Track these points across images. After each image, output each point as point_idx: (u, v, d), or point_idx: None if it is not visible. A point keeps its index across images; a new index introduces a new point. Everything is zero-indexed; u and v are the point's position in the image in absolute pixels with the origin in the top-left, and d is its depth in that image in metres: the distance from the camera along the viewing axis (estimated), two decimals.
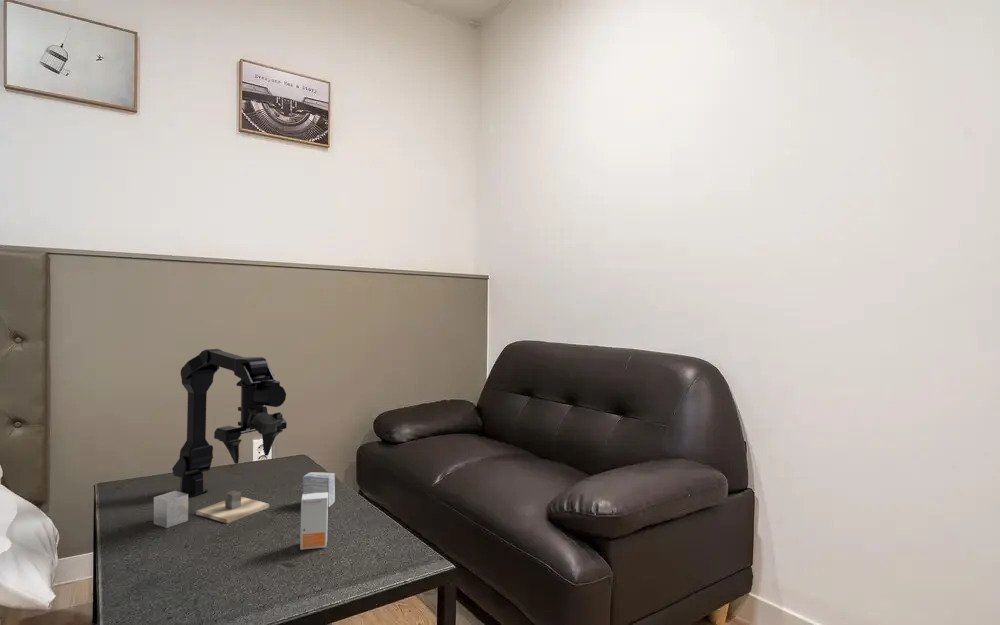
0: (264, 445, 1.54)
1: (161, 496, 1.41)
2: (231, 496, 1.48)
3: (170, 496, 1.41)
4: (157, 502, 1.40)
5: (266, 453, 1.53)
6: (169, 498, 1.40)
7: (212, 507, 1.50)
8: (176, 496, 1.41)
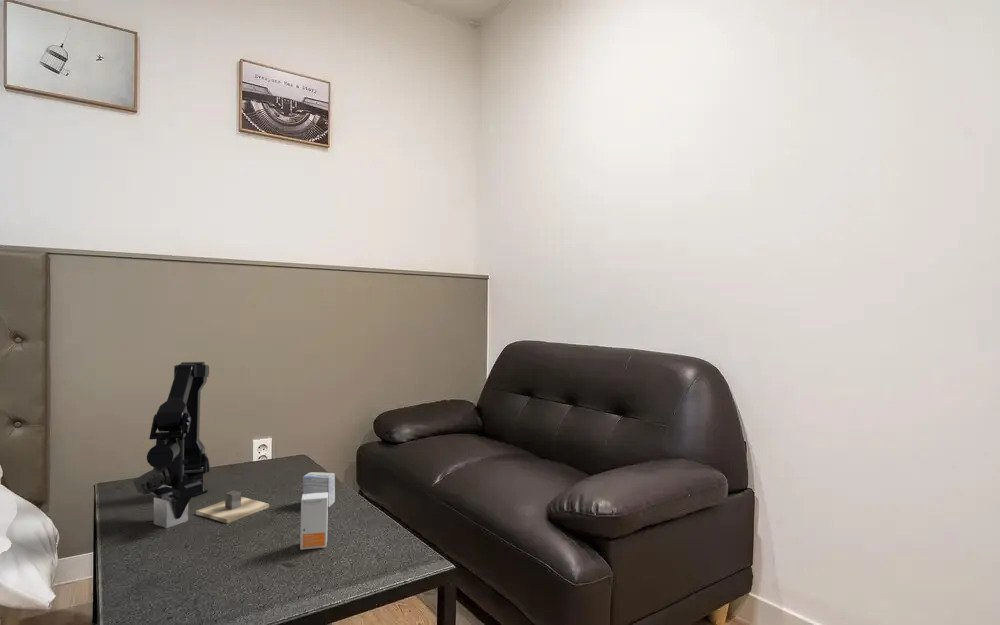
0: None
1: (161, 496, 1.41)
2: (231, 496, 1.48)
3: None
4: (157, 502, 1.40)
5: None
6: (169, 498, 1.40)
7: (212, 507, 1.50)
8: None
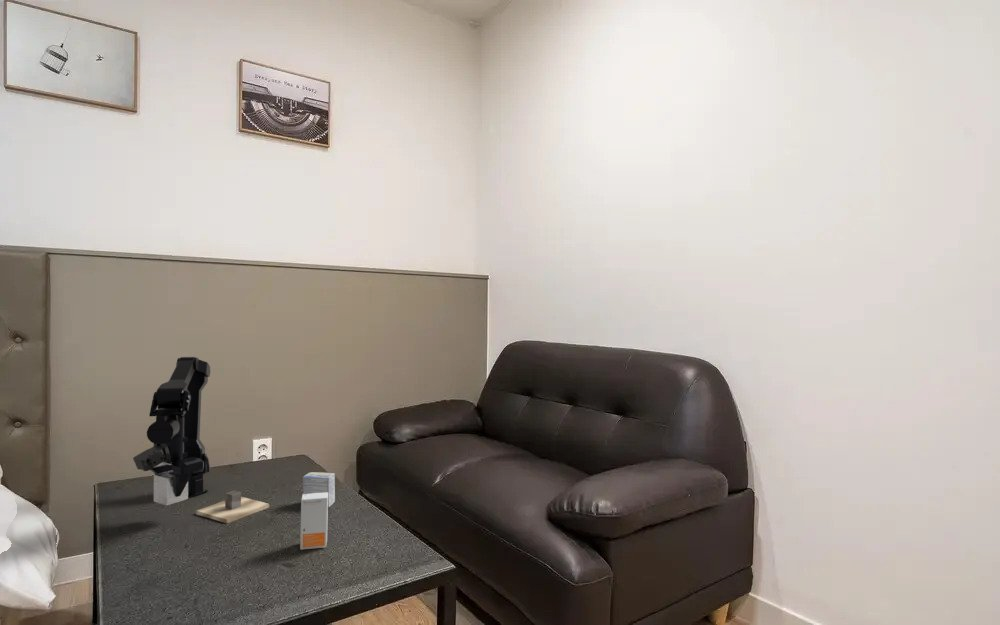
0: None
1: (161, 474, 1.41)
2: (231, 496, 1.48)
3: None
4: (157, 480, 1.40)
5: None
6: (169, 476, 1.39)
7: (212, 507, 1.50)
8: None
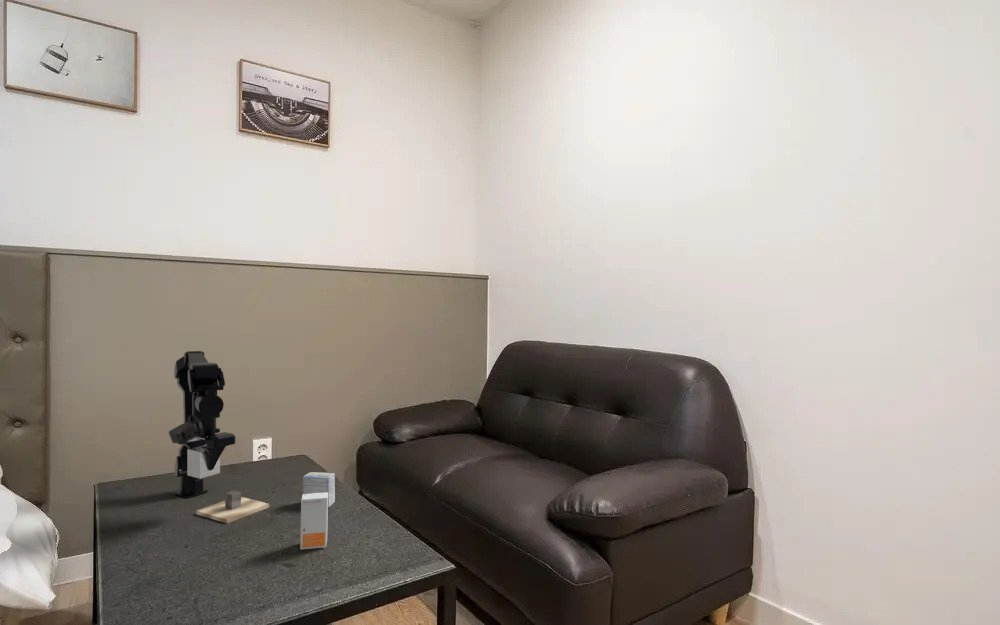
0: None
1: (194, 448, 1.45)
2: (231, 496, 1.48)
3: None
4: (191, 454, 1.44)
5: None
6: (202, 450, 1.44)
7: (212, 507, 1.50)
8: None
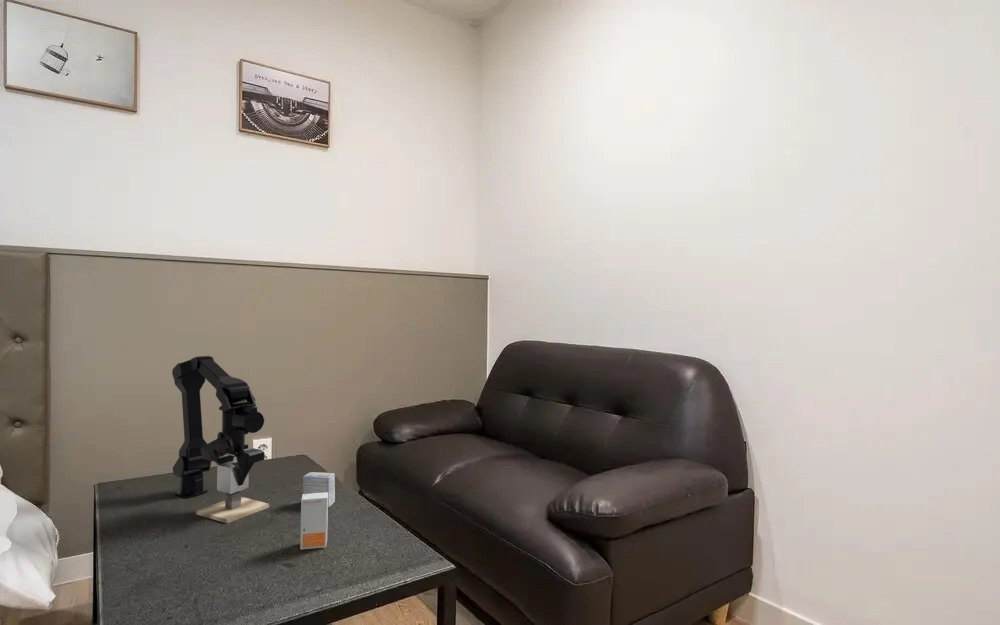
0: None
1: (224, 464, 1.49)
2: (231, 496, 1.48)
3: None
4: (221, 470, 1.48)
5: None
6: (232, 466, 1.48)
7: (212, 507, 1.50)
8: None
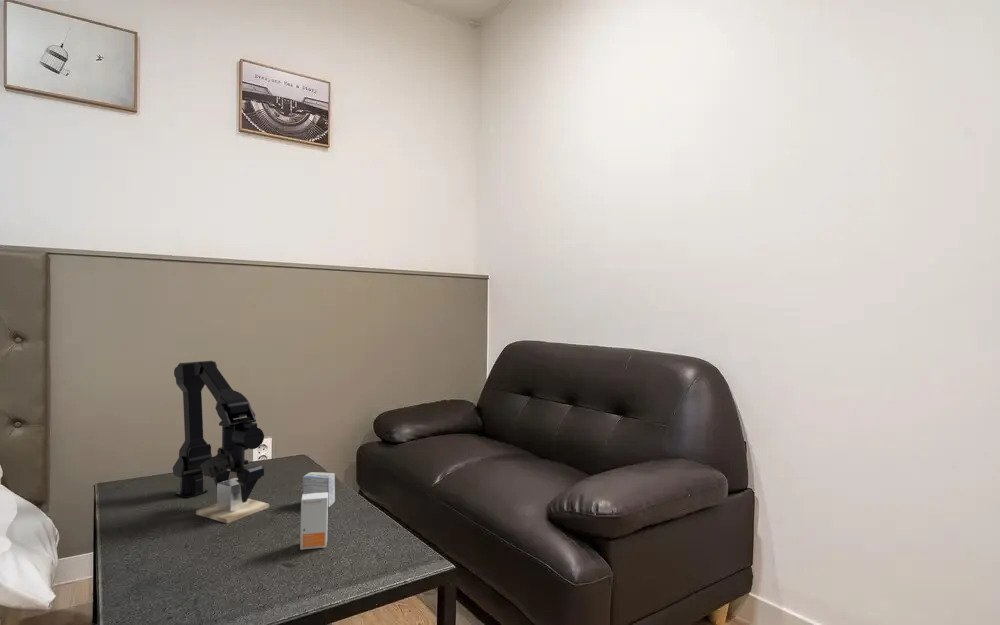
0: None
1: (224, 482, 1.49)
2: None
3: (233, 482, 1.49)
4: (221, 488, 1.48)
5: None
6: (232, 484, 1.48)
7: (212, 507, 1.50)
8: None
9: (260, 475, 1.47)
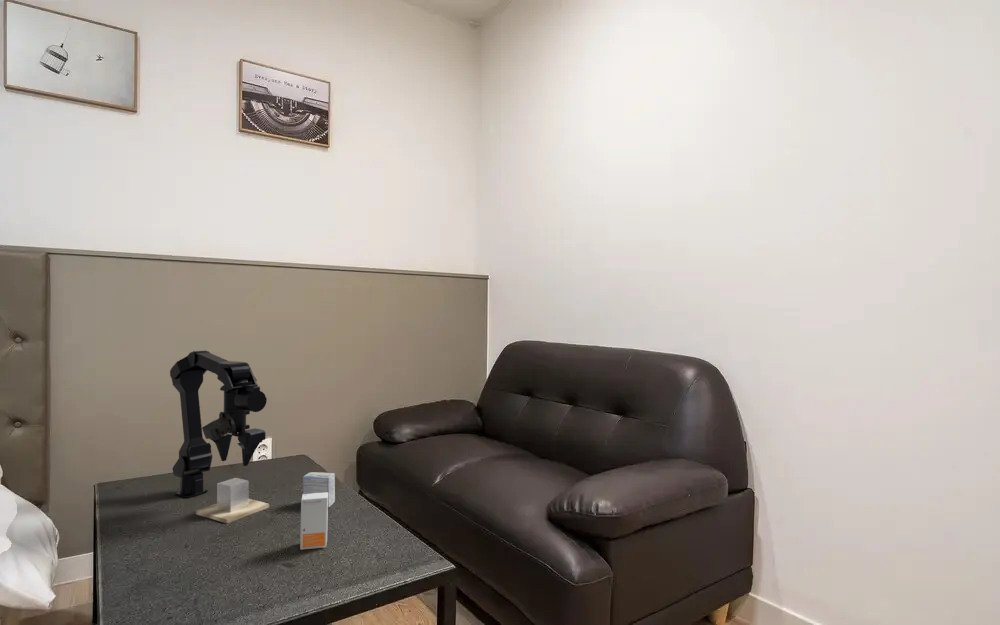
0: None
1: (224, 482, 1.49)
2: None
3: (233, 482, 1.49)
4: (221, 488, 1.48)
5: None
6: (232, 484, 1.48)
7: (212, 507, 1.50)
8: (238, 482, 1.49)
9: (261, 439, 1.48)
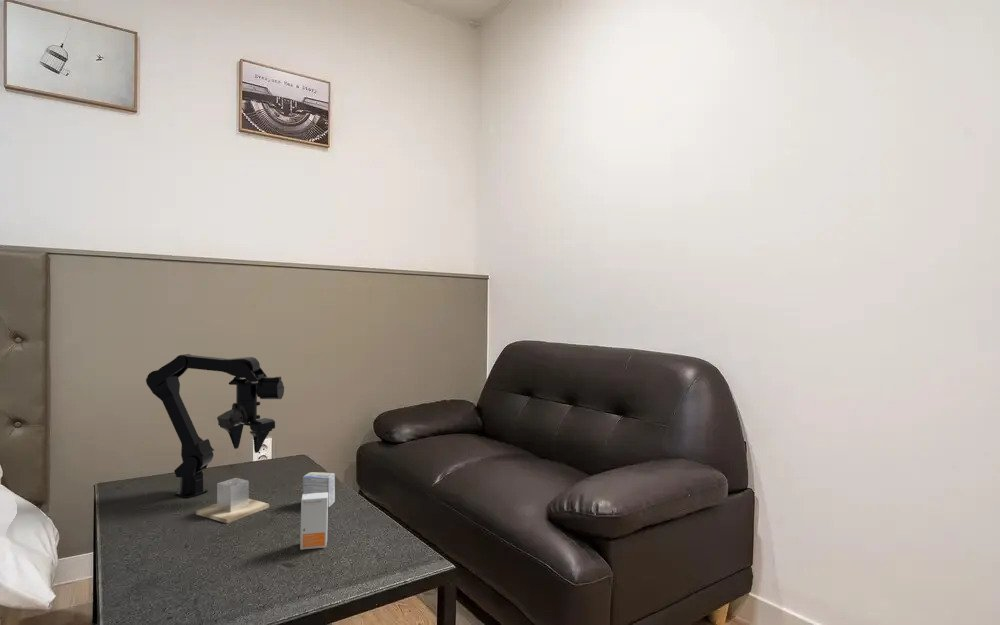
0: None
1: (224, 482, 1.49)
2: None
3: (233, 482, 1.49)
4: (221, 488, 1.48)
5: None
6: (232, 484, 1.48)
7: (212, 507, 1.50)
8: (238, 482, 1.49)
9: (271, 427, 1.61)
